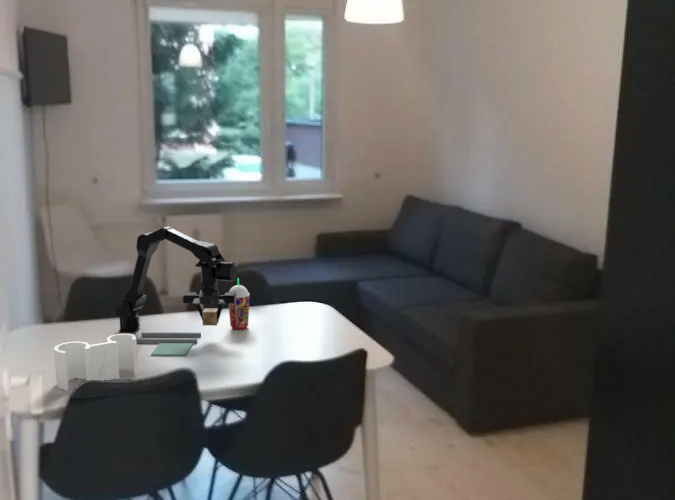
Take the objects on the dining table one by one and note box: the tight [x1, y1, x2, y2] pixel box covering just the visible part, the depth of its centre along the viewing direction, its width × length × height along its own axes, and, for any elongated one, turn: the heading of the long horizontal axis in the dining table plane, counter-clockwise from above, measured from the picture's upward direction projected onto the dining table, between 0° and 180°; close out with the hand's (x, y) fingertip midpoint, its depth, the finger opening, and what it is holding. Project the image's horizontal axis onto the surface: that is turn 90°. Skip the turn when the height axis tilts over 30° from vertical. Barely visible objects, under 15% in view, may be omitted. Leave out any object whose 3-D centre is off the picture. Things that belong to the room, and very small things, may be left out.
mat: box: [150, 343, 194, 357], centre depth 262 cm, size 12×12×1 cm
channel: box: [136, 331, 202, 344], centre depth 274 cm, size 22×8×2 cm, turn 89°
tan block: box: [201, 307, 220, 327], centre depth 272 cm, size 5×5×5 cm
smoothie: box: [227, 277, 250, 332], centre depth 285 cm, size 8×8×20 cm
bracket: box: [53, 333, 139, 391], centre depth 234 cm, size 25×10×12 cm, turn 124°
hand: (210, 320), depth 272 cm, fingers closed on tan block, 5 cm apart
